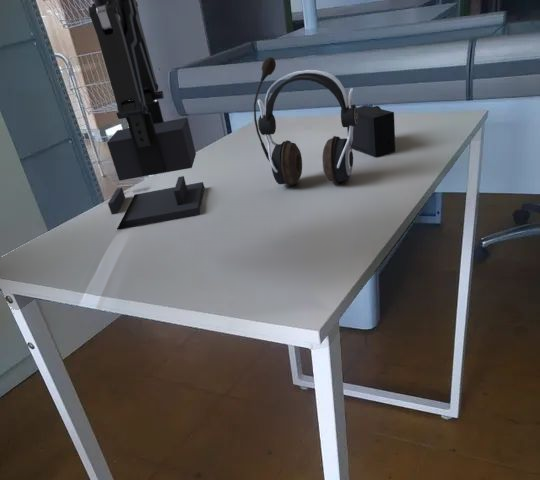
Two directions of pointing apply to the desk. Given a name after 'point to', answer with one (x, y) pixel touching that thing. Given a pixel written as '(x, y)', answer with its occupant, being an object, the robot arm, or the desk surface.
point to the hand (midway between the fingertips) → (158, 164)
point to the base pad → (159, 204)
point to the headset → (288, 154)
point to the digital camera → (374, 131)
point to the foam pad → (170, 142)
